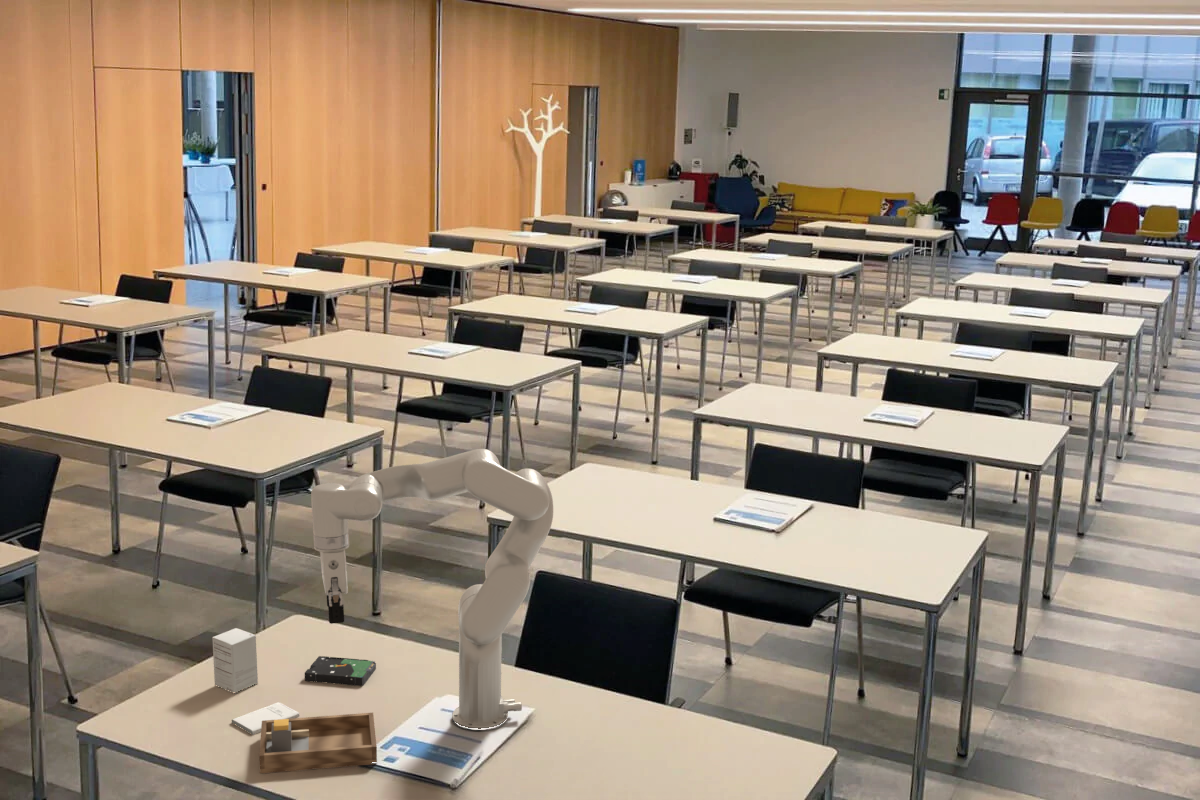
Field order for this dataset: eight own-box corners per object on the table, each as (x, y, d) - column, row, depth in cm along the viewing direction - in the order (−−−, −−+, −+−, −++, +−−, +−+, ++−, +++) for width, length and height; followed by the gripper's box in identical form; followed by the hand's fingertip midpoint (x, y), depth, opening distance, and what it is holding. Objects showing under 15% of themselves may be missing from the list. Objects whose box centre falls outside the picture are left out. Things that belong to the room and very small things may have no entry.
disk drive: (304, 683, 316) (363, 688, 314) (303, 673, 316) (363, 677, 314) (318, 666, 326) (376, 669, 324) (318, 655, 326) (376, 659, 324)
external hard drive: (231, 725, 295) (278, 707, 304) (252, 737, 289) (299, 718, 298) (231, 718, 294) (278, 700, 303) (252, 730, 289) (299, 712, 298)
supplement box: (238, 675, 318) (236, 626, 316) (258, 684, 314) (257, 634, 311) (213, 686, 312) (211, 636, 310) (233, 694, 308) (231, 644, 305)
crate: (373, 728, 293) (373, 712, 292) (376, 763, 278) (376, 746, 277) (262, 737, 288) (261, 720, 287) (259, 773, 273) (259, 755, 272)
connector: (291, 743, 283) (290, 717, 282) (291, 752, 280) (290, 726, 278) (272, 744, 283) (271, 718, 281) (272, 753, 279) (271, 727, 277)
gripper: (351, 551, 278) (355, 627, 282) (346, 526, 294) (350, 598, 298) (315, 555, 276) (319, 631, 280) (312, 529, 292) (316, 601, 296)
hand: (335, 614), depth 289 cm, fingers open, 9 cm apart
